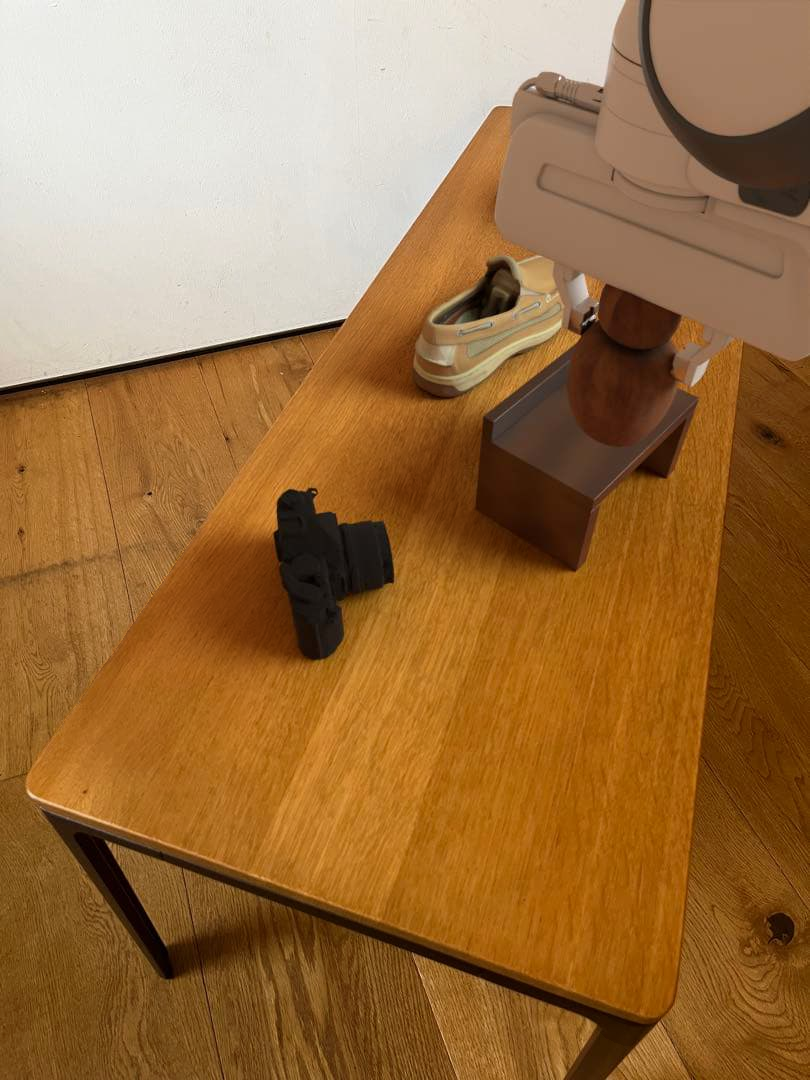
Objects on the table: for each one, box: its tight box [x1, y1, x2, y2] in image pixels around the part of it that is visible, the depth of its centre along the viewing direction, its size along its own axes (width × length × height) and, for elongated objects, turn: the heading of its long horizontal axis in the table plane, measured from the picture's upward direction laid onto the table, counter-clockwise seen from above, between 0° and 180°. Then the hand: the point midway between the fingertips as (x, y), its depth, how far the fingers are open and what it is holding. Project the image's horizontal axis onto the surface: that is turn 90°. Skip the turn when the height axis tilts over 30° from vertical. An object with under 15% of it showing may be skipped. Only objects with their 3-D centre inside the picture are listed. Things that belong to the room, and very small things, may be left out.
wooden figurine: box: [567, 283, 683, 447], centre depth 47 cm, size 7×6×15 cm
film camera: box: [272, 487, 395, 661], centre depth 68 cm, size 15×10×9 cm, turn 12°
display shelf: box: [474, 343, 700, 572], centre depth 75 cm, size 12×18×12 cm, turn 138°
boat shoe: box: [412, 254, 564, 398], centre depth 92 cm, size 10×29×11 cm, turn 144°
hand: (630, 352), depth 48 cm, fingers closed on wooden figurine, 6 cm apart
